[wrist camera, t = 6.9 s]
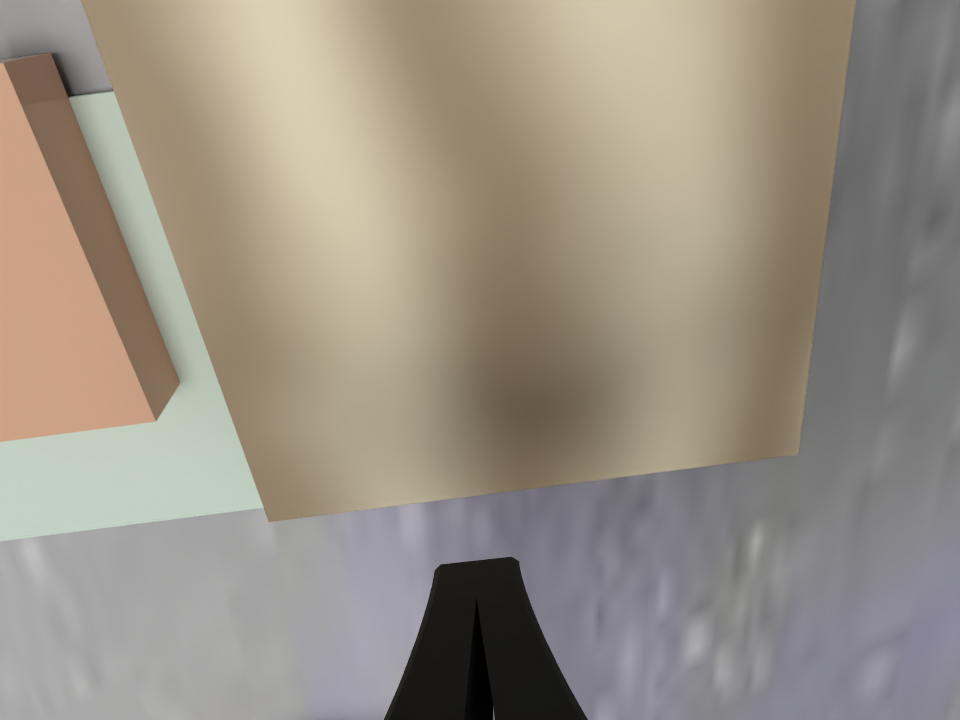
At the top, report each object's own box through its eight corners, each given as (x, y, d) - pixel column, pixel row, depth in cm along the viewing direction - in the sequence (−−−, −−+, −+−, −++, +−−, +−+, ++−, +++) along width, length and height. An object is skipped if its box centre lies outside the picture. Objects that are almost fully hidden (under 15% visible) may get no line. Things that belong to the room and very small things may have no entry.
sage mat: (145, 86, 17) (141, 88, 17) (285, 499, 23) (283, 505, 23) (-258, 142, 17) (-269, 144, 17) (-9, 536, 23) (-14, 542, 23)
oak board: (781, -185, 15) (885, -232, 11) (740, 376, 22) (798, 454, 18) (133, -92, 15) (41, -110, 12) (296, 434, 22) (268, 521, 18)
